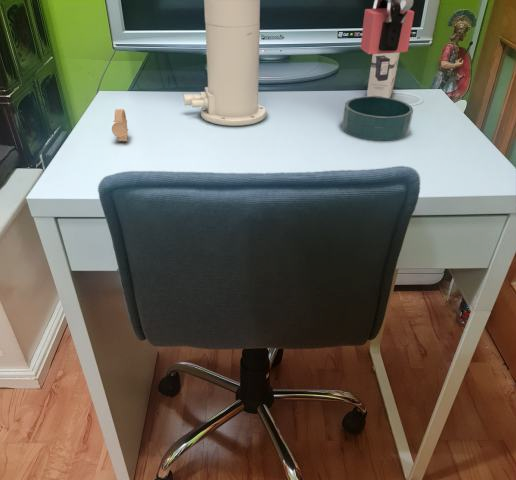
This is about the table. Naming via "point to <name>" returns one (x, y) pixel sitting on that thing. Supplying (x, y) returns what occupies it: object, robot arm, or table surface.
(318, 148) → the table surface
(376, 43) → the eraser
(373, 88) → the ink box
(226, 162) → the table surface
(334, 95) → the table surface
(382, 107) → the bowl
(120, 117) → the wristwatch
